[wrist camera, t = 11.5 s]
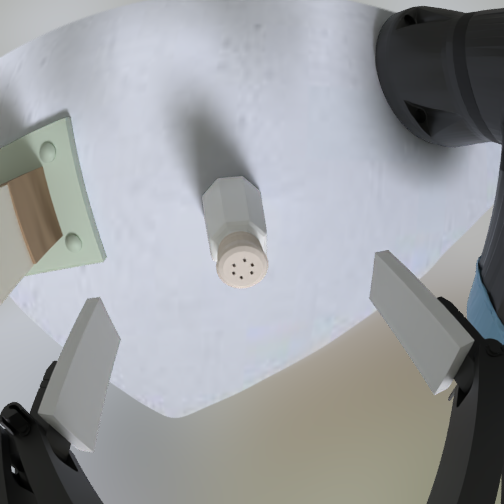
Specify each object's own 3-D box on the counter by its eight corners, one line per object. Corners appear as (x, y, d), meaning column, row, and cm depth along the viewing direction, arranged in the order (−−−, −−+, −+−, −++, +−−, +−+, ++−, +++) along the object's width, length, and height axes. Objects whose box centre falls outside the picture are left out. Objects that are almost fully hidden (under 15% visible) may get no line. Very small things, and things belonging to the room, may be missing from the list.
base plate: (70, 116, 19) (63, 117, 18) (106, 257, 26) (102, 263, 25) (-22, 163, 19) (-30, 166, 17) (14, 274, 25) (9, 280, 24)
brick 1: (42, 166, 20) (8, 182, 15) (63, 235, 23) (36, 263, 18) (-3, 186, 19) (-36, 204, 15) (17, 247, 23) (-10, 273, 18)
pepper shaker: (246, 163, 24) (269, 202, 14) (272, 216, 26) (306, 285, 16) (189, 191, 24) (172, 250, 14) (218, 242, 27) (221, 322, 17)
